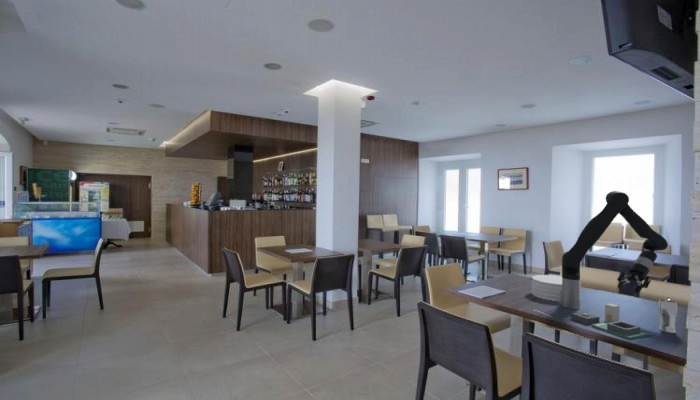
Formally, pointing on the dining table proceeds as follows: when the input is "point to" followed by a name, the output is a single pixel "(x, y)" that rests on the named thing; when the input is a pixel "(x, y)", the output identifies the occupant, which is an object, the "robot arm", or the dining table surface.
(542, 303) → the dining table surface
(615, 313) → the plug
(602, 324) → the board
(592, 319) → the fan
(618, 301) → the dining table surface
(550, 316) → the butter knife
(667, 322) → the beer glass
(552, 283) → the plate stack
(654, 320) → the dining table surface
